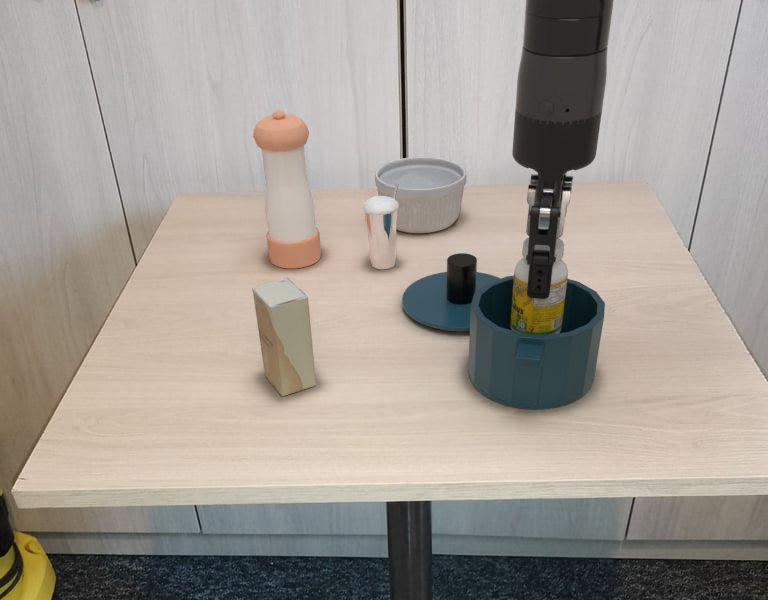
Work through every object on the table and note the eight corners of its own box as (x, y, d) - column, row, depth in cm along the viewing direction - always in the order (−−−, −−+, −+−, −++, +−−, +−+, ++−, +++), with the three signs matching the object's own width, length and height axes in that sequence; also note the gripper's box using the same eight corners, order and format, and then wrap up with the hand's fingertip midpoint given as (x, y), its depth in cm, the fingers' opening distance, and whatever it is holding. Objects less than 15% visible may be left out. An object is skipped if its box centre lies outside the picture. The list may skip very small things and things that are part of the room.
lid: (524, 282, 105) (528, 237, 101) (512, 340, 95) (516, 293, 91) (415, 274, 108) (414, 230, 104) (391, 330, 98) (389, 283, 94)
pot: (596, 335, 95) (607, 267, 89) (589, 431, 82) (601, 358, 76) (481, 325, 98) (484, 259, 92) (456, 417, 84) (458, 346, 78)
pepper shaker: (262, 252, 115) (241, 107, 102) (310, 241, 117) (296, 98, 104) (279, 273, 110) (259, 123, 97) (328, 261, 112) (316, 113, 99)
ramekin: (460, 199, 126) (461, 153, 121) (469, 235, 116) (471, 187, 112) (375, 204, 126) (373, 158, 121) (377, 240, 116) (375, 191, 112)
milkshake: (411, 261, 111) (410, 188, 104) (383, 275, 108) (380, 201, 102) (387, 251, 113) (385, 179, 107) (360, 265, 111) (355, 191, 104)
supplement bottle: (566, 340, 84) (578, 253, 78) (515, 345, 84) (522, 257, 77) (553, 315, 88) (563, 229, 82) (505, 319, 88) (511, 233, 81)
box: (264, 375, 91) (249, 285, 84) (298, 364, 93) (287, 274, 85) (283, 398, 88) (269, 306, 80) (318, 386, 89) (308, 294, 82)
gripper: (599, 133, 65) (574, 321, 77) (605, 81, 75) (581, 254, 87) (506, 129, 66) (494, 314, 78) (524, 79, 77) (511, 249, 88)
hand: (540, 282), depth 82 cm, fingers closed on supplement bottle, 5 cm apart
